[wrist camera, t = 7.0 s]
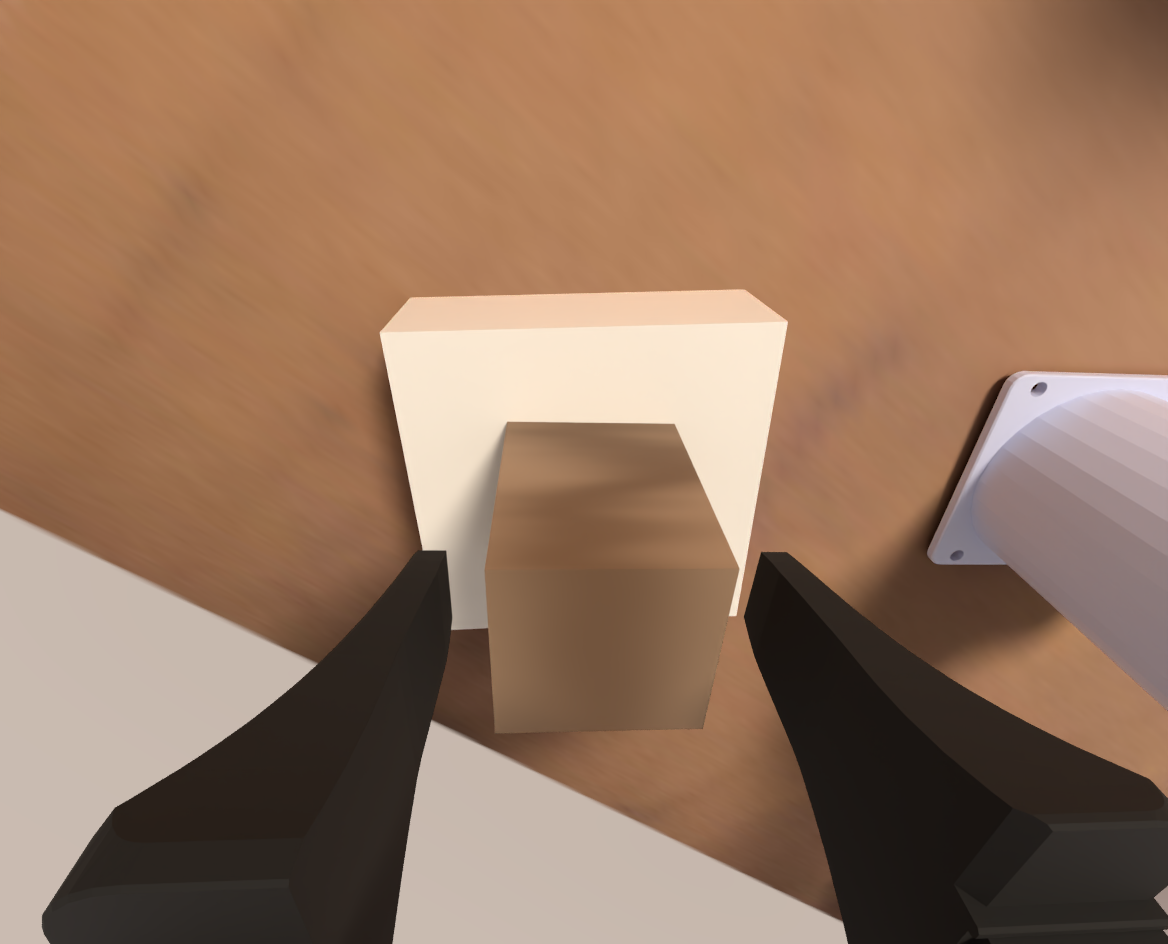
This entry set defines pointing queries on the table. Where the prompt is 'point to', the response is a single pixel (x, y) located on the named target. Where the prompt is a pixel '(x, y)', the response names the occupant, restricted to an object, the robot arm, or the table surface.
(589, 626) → the walnut block
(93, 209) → the table surface
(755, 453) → the ceramic base
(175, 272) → the table surface
